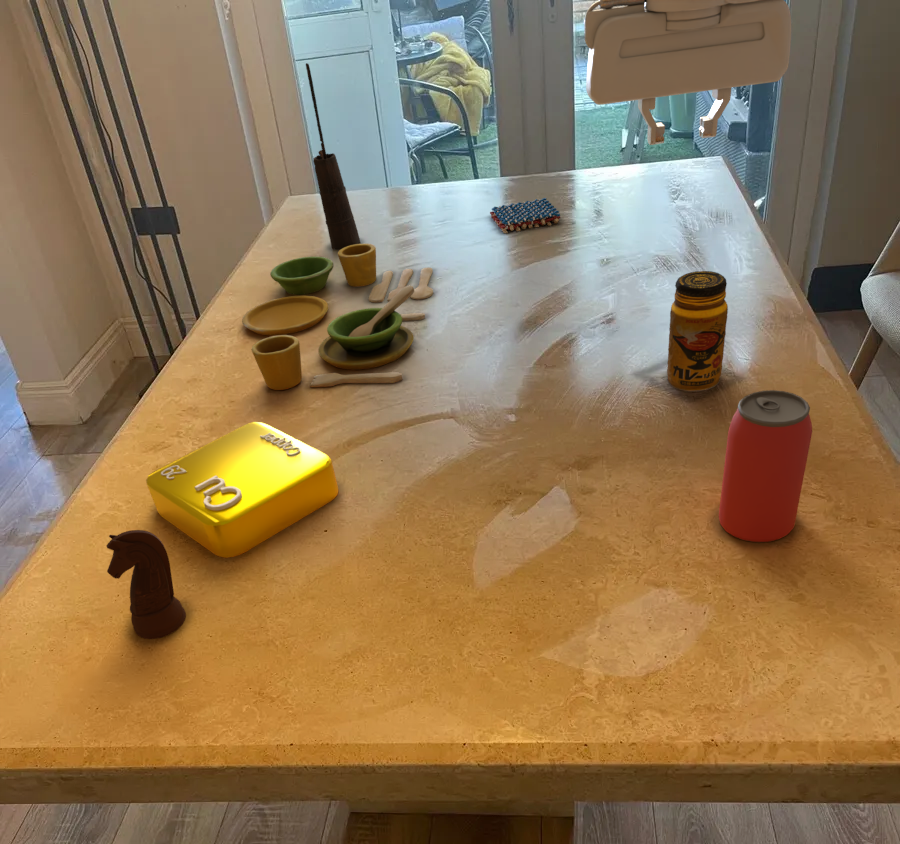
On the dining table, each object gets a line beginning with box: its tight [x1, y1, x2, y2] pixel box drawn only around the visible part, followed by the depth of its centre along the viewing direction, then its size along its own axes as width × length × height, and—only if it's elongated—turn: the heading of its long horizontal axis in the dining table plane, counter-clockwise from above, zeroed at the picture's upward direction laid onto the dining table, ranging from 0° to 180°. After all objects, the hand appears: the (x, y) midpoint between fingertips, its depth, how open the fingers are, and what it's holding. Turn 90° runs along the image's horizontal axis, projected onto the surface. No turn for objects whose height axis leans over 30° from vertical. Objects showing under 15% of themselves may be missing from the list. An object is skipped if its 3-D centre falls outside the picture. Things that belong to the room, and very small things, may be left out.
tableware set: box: [241, 243, 434, 391], centre depth 120 cm, size 41×28×6 cm
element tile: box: [145, 421, 339, 559], centre depth 88 cm, size 15×15×5 cm
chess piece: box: [106, 529, 187, 640], centre depth 73 cm, size 5×5×10 cm
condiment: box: [666, 270, 729, 393], centre depth 95 cm, size 7×8×12 cm
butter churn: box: [305, 62, 361, 251], centre depth 141 cm, size 9×10×28 cm
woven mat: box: [489, 197, 561, 234], centre depth 147 cm, size 10×11×2 cm
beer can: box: [718, 389, 813, 543], centre depth 73 cm, size 7×7×12 cm
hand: (681, 139), depth 92 cm, fingers open, 4 cm apart
